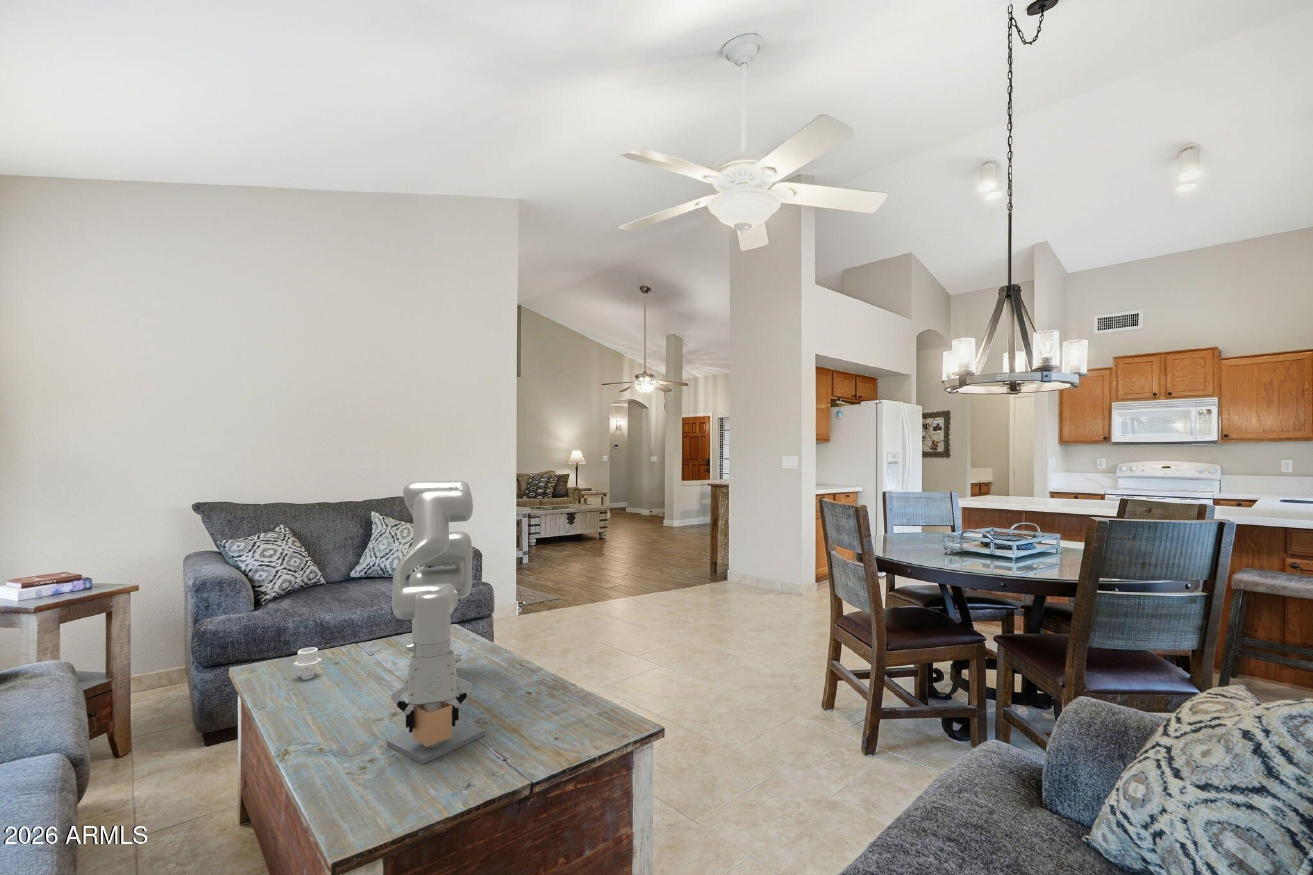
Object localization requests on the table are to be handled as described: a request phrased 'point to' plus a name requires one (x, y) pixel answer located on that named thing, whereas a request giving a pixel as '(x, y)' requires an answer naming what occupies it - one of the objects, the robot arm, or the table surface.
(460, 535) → the robot arm
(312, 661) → the pipe fitting
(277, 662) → the table surface
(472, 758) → the table surface
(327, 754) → the table surface
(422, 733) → the hollow square tube
